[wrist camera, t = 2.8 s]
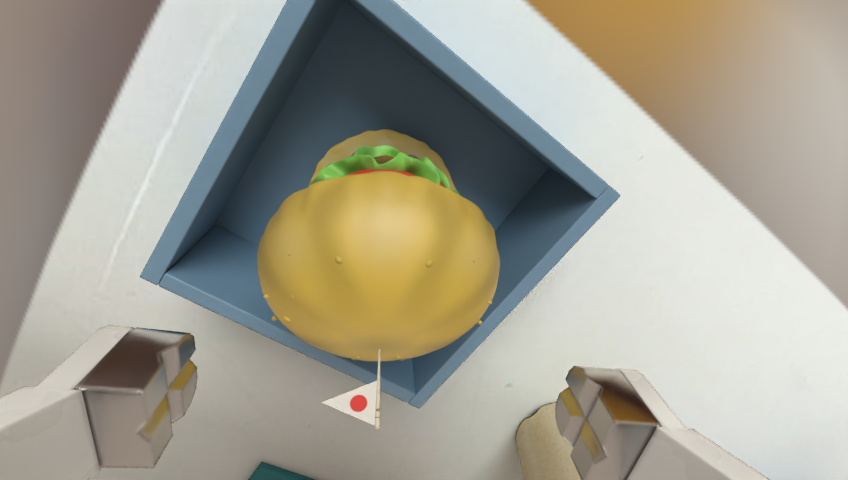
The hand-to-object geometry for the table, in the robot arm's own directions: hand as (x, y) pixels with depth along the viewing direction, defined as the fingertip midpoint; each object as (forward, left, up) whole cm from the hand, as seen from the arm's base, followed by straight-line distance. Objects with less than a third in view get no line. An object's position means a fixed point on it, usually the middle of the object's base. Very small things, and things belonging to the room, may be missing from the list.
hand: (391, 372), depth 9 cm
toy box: (0, 0, -13) cm, 13 cm away
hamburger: (0, 0, -13) cm, 13 cm away
